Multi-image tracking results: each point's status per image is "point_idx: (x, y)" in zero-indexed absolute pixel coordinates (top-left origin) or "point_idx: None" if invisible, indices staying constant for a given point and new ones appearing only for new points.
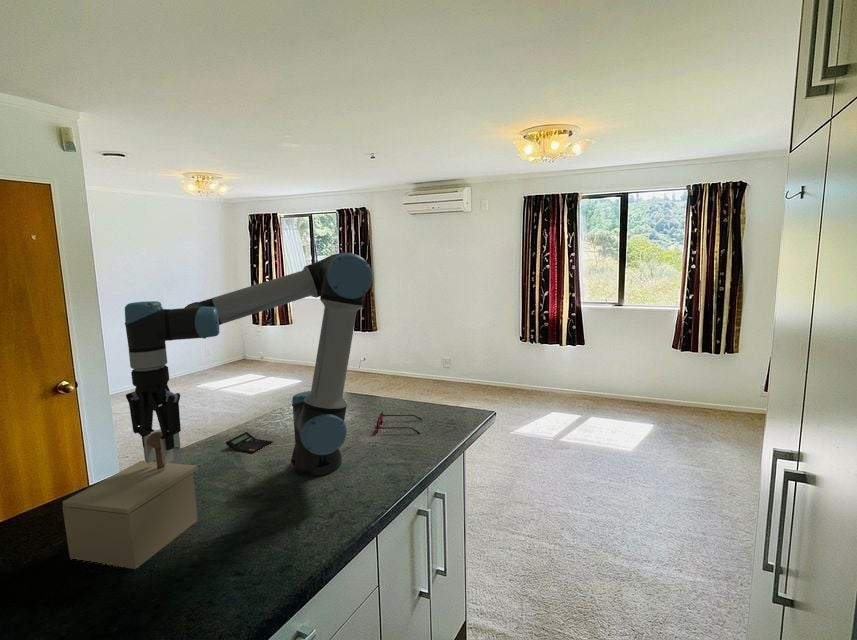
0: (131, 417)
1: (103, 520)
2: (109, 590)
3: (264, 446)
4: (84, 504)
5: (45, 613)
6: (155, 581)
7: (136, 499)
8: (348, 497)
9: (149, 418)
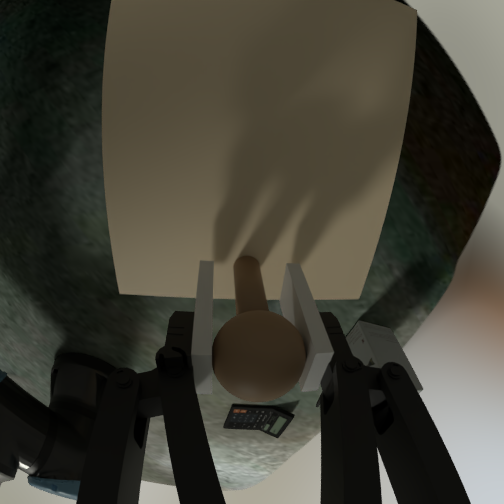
0: (438, 436)
1: None
2: None
3: (227, 418)
4: None
5: None
6: (94, 9)
7: (133, 23)
8: None
9: (329, 464)
